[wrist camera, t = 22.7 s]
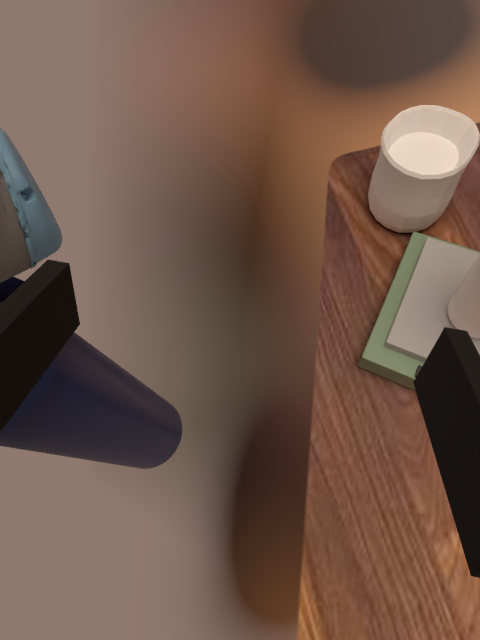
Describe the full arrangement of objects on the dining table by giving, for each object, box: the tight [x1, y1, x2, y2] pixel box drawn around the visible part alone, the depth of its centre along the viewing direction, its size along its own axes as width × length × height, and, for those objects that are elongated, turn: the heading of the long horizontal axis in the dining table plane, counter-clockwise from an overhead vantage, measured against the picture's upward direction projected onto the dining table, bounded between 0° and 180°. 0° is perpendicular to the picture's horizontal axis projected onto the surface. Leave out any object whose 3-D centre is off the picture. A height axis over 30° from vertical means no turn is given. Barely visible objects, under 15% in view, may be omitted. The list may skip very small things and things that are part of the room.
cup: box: [368, 105, 480, 233], centre depth 44 cm, size 10×10×10 cm
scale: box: [357, 231, 480, 391], centre depth 39 cm, size 16×16×4 cm
